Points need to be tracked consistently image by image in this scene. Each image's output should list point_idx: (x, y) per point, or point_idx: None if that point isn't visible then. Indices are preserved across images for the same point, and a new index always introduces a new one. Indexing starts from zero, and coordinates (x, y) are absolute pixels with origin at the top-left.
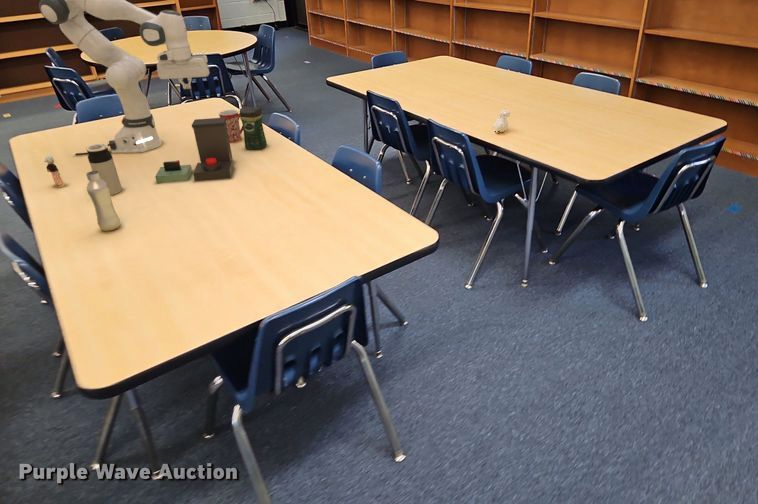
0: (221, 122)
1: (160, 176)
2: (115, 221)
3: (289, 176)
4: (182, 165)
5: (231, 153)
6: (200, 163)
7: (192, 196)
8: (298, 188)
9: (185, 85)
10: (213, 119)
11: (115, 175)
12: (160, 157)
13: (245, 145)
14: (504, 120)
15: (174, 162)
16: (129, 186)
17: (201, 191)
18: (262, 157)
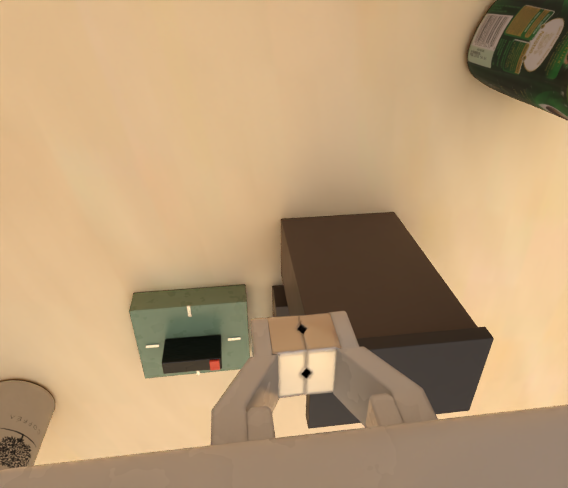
0: (459, 407)
1: (163, 374)
2: None
3: (543, 344)
4: (216, 306)
5: (406, 231)
6: (288, 313)
7: (283, 427)
8: (539, 402)
9: (293, 389)
10: (422, 364)
11: (36, 455)
12: (27, 101)
13: (475, 72)
14: None
15: (206, 369)
16: (60, 372)
17: (302, 406)
18: (511, 186)
